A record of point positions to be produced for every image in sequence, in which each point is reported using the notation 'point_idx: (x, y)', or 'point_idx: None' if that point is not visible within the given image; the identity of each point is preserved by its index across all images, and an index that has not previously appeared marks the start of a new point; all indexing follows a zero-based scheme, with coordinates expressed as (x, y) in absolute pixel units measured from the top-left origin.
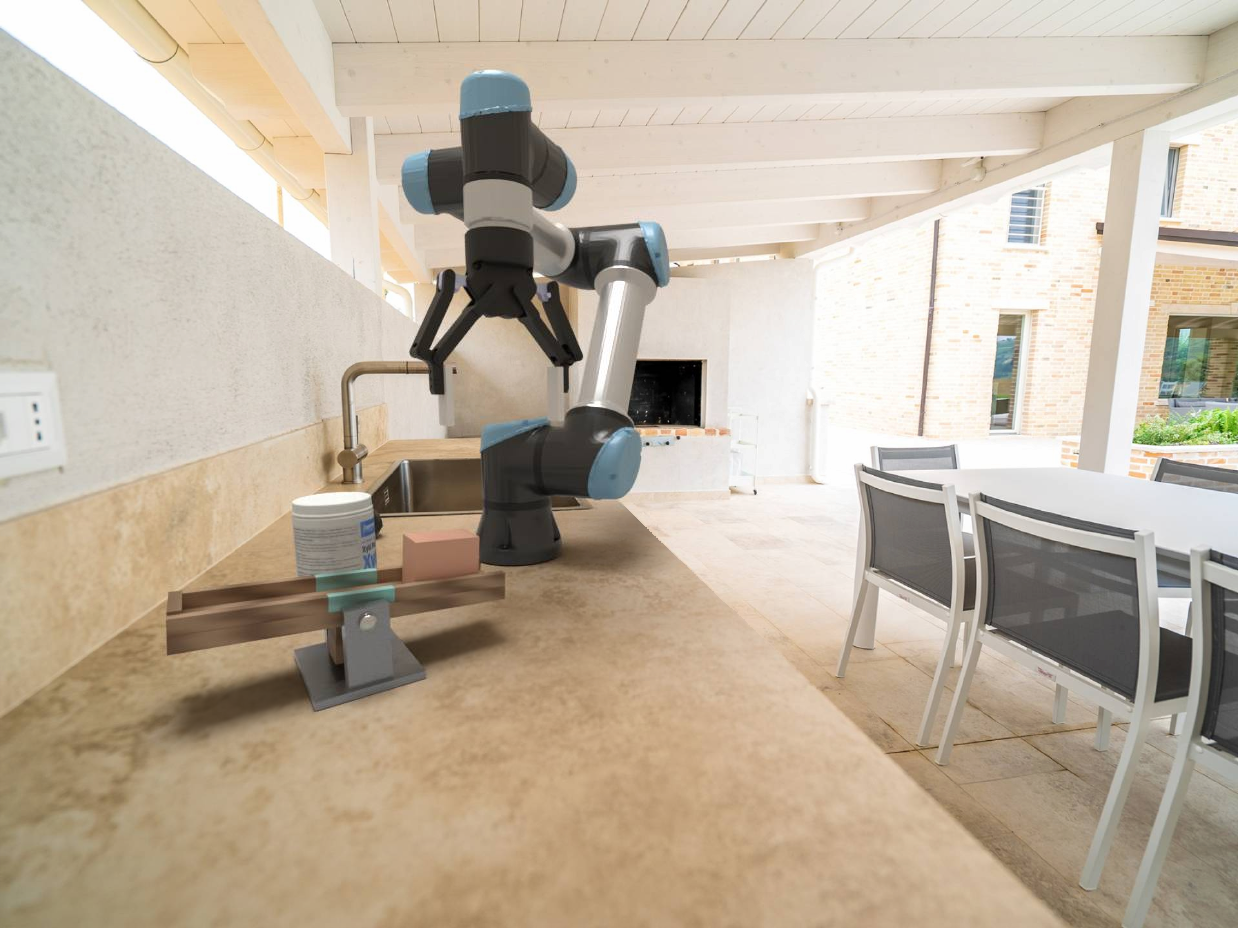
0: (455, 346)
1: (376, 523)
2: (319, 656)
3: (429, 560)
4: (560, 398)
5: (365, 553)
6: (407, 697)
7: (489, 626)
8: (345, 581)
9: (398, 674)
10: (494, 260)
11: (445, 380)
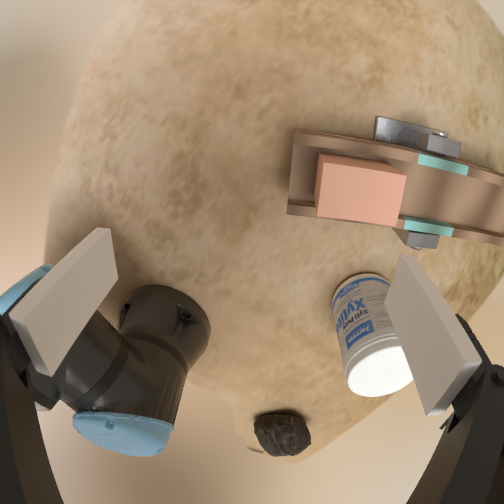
0: (475, 421)
1: (262, 423)
2: None
3: (384, 167)
4: (73, 256)
5: (363, 309)
6: (397, 100)
7: (284, 169)
8: (429, 221)
9: (396, 126)
10: None
11: (461, 329)
